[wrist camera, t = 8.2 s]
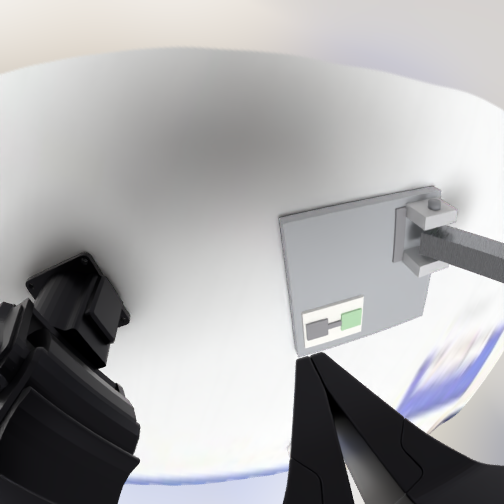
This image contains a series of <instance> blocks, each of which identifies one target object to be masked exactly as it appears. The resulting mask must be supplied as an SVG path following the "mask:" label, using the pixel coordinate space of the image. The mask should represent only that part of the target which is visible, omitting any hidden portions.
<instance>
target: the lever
mask: <svg viewBox="0 0 504 504" xmlns="http://www.w3.org/2000/svg"><path fill="white" fill-rule="evenodd" d="M419 254H421V255H424V256H427V257H430V258H433V259H436V260H439V261H442V262H445V263H448V264H451V265H454V266H457V267H460V268H462V269H465V270H468V271H471V272H474V273H477V274H480V275H482V276H485V277H488V278H491V279H494V280H496V281H499V282H502V283H504V243H501V242H498V241H495V240H492V239H489V238H486V237H483V236H479V235H476V234H473V233H470V232H467V231H463V230H460V229H457V228H453V227H450V226H446V225H443V226H440V227H436V228H433V229H429V230H425V231H424V230H423V231H422V232H421V238H420V247H419Z"/></svg>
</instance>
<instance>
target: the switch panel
mask: <svg viewBox="0 0 504 504" xmlns="http://www.w3.org/2000/svg"><path fill="white" fill-rule="evenodd" d="M457 211H458V209H456V208H454V207H453V206H451V205H450V204H448V203H446V202H445V201H443V200H442V199H441V190H440V189H438V188H436V187H434V186H431V187H426V188H420V189H415V190H410V191H405V192H400V193H394V194H389V195H384V196H379V197H374V198H369V199H364V200H360V201H355V202H350V203H345V204H340V205H335V206H331V207H326V208H321V209H317V210H312V211H307V212H303V213H298V214H294V215H289V216H285V217H280V218H279V222H280V229H281V236H282V244H283V251H284V259H285V266H286V274H287V282H288V290H289V298H290V306H291V315H292V323H293V332H294V340H295V349H296V352H297V355H298V357H302V356H305V355H309V354H312V353H316V352H319V351H323V350H326V349H329V348H332V347H336V346H339V345H342V344H345V343H348V342H351V341H354V340H357V339H360V338H363V337H366V336H369V335H372V334H375V333H378V332H380V331H383V330H386V329H389V328H391V327H394V326H397V325H399V324H402V323H405V322H407V321H410V320H412V319H415V318H418V317H420V316H422V314H423V310H424V305H425V301H426V296H427V291H428V286H429V281H430V275H431V273H434V272H437V271H439V270H442V269H445V268H448V267H449V264H448V263H445V262H442V261H439V260H436V259H433V258H430V257H427V256H424V255H421V254H419V247H420V238H421V232H422V231H423V230H424V231H425V230H429V229H433V228H436V227H440V226H443V225H447V224H451V223H454V222H456V219H457Z"/></svg>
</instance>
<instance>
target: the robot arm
mask: <svg viewBox="0 0 504 504" xmlns="http://www.w3.org/2000/svg"><path fill="white" fill-rule="evenodd" d="M83 258H85V259H86V260H87V261H88V262H85V261H84V260H83ZM30 283H31V284H33V286H32V285H31V284H30ZM26 287H27V289H28V290H29V292H30V293H31V295H32V296H33V297H34V299H35V302H34V303H32V302H31V300H30V299H29V298H27V299H26V300H25V301H23V302H22V303H21V304H19V305H17V306H16V305H15V304H14V305H12V304H9V303H6V302H2V303H1V304H0V504H118V500H119V497H120V493H121V490H122V487H123V485H124V483H125V481H126V480H127V478H128V476H129V475H130V473H131V472H132V471H133V470H134V469H135V468H136V466H137V465H138V464H139V463H140V459H139V458H137V457H135V456H134V455H133V454H134V452H135V449H136V446H137V443H138V440H139V434H140V424H139V423H137V422H136V416H135V412H134V408H133V406H132V405H131V403H130V402H129V400H128V399H127V398H125V394H124V391H123V388H122V387H121V386H120V385H119V384H117V383H114V382H113V381H111V380H110V379H109V378H108V377H107V376H105V375H104V374H103V373H102V372H101V371H100V370H98V369H99V368H103V367H105V366H106V362H107V357H108V352H109V348H110V344H112V343H114V341H115V337H116V332H117V328H118V327H121V326H124V325H127V324H128V323H129V322H130V315H129V314H128V312H127V311H126V309H125V308H124V306H123V302H122V300H121V299H120V297H119V296H118V294H117V293H116V291H115V290H114V288H113V287H112V285H111V284H110V282H109V280H108V279H107V277H105V276H103V274H102V273H101V271H100V269H99V268H98V266H97V265H96V263H95V261H94V260H93V258H92V256H91V255H90V254H89V253H86V252H84V253H81V254H79V255H76V256H74V257H72V258H70V259H68V260H66V261H64V262H61V263H59V264H57V265H55V266H53V267H51V268H49V269H47V270H45V271H43V272H41V273H39V274H37V275H35V276H33V277H31V278H29V279H28V280H27V282H26ZM122 318H125V319H122ZM344 461H345V462H344ZM345 463H346V465H347V467H348V469H349V471H350V473H351V475H352V477H353V479H354V482H355V484H356V486H357V488H358V490H359V492H360V494H361V496H362V498H363V500H364V502H365V504H504V466H500V465H490V464H484V463H480V462H477V461H475V460H473V459H470V458H469V457H467V456H465V455H463V454H461V453H459V452H457V451H455V450H454V449H452V448H450V447H448V446H446V445H445V444H443V443H441V442H440V441H438V440H436V439H434V438H433V437H431V436H430V435H428V434H426V433H425V432H424V431H422V430H421V429H419V428H418V427H417V426H415V425H414V424H413V423H411V422H410V421H409V420H408V419H406V418H405V419H404V417H403V416H402V415H401V414H400V413H398V412H397V411H396V410H395V409H393V408H392V407H391V406H389V405H388V404H387V403H386V402H384V401H383V400H382V399H381V398H379V397H378V396H377V395H376V394H374V393H373V392H372V391H371V390H369V389H368V388H367V387H366V386H364V385H363V384H362V383H361V382H359V381H358V380H357V379H356V378H354V377H353V376H352V375H351V374H349V373H348V372H347V371H346V370H344V369H343V368H342V367H341V366H340V365H338V364H337V363H336V362H335V361H333V360H332V359H331V358H330V357H329V356H327V355H326V354H325V353H323V352H320V353H317V354H313V355H311V356H310V357H309V356H306V357H303V358H299V359H297V360H296V370H295V390H294V408H293V423H292V437H291V451H290V461H289V472H288V480H287V487H286V492H285V497H284V501H283V504H354V500H353V496H352V491H351V488H350V483H349V479H348V475H347V471H346V467H345Z"/></svg>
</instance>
